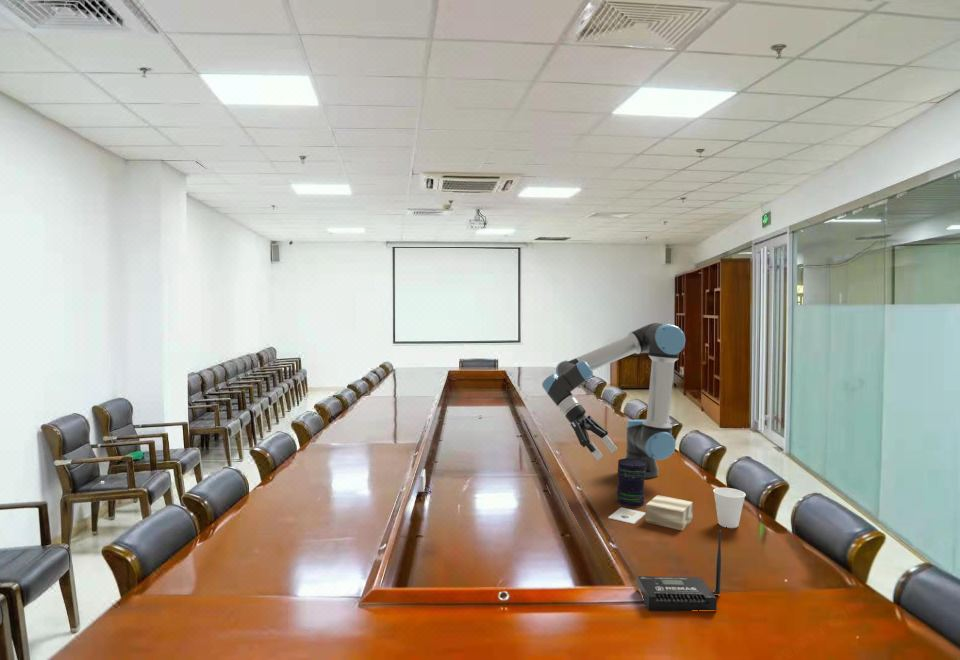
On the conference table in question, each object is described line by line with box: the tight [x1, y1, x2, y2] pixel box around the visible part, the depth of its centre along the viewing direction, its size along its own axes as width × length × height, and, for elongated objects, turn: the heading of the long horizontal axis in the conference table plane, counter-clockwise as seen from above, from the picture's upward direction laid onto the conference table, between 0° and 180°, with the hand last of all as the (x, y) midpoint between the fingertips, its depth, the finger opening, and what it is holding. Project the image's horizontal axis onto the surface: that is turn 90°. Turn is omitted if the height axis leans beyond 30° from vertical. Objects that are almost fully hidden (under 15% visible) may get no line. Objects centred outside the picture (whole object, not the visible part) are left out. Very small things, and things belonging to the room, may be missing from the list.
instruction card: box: [607, 506, 646, 525], centre depth 201 cm, size 12×9×1 cm
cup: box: [712, 487, 747, 529], centre depth 193 cm, size 10×10×11 cm
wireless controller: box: [636, 529, 722, 612], centre depth 144 cm, size 20×14×17 cm
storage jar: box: [616, 458, 646, 508], centre depth 214 cm, size 10×10×15 cm
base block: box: [644, 494, 694, 531], centre depth 197 cm, size 12×12×6 cm
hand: (607, 454), depth 219 cm, fingers open, 13 cm apart
